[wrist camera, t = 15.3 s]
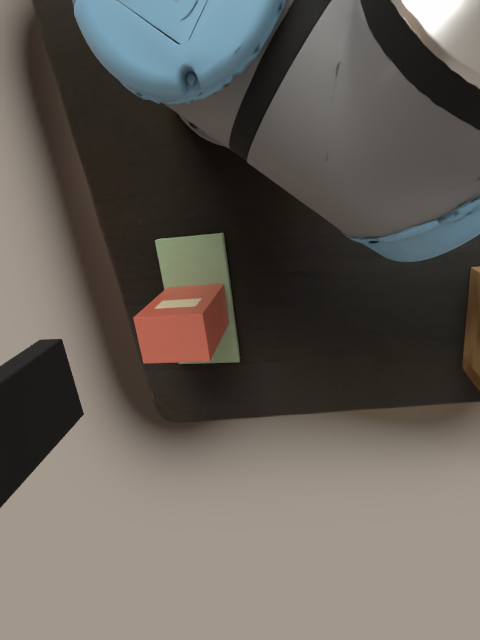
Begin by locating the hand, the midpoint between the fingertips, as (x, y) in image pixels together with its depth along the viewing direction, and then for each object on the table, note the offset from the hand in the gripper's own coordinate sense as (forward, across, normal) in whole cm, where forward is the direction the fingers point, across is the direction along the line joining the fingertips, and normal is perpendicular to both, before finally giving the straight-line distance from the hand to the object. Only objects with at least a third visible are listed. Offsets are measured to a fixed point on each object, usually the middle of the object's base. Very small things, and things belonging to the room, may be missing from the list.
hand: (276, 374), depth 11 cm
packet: (+34, -13, -9) cm, 37 cm away
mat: (+35, -13, -9) cm, 38 cm away
